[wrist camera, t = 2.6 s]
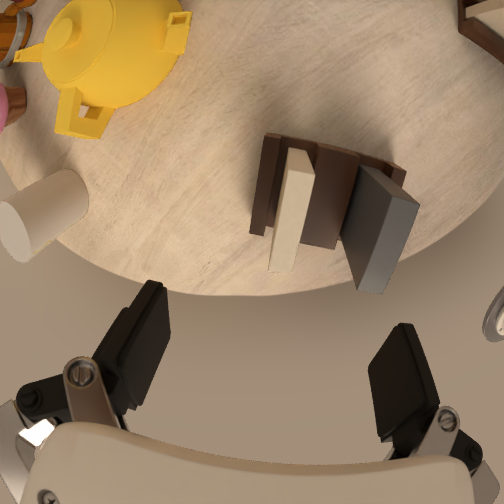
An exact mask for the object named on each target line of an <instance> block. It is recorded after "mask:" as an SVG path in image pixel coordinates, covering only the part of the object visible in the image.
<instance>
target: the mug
mask: <svg viewBox="0 0 504 504" xmlns="http://www.w3.org/2000/svg"><path fill="white" fill-rule="evenodd" d="M11 1H14V3H13V4H11V5H10V6H8V7H7V9H6V10H5V11H4V13H0V69H1V68H4V67H7V66H10V65H12V64H13V63H14V62H13V61H14V56H15V52H16V51H18V50H22V49H24V47H25V45H26V43H27V40H28V38H29V36H30V32H31V26H32V17H31V15H30V14H29V13H28V12H24V10H23V8H25V7H28V6H32V5H33V4H34V3H35V2H36V1H37V0H11Z"/></svg>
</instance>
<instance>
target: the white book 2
mask: <svg viewBox="0 0 504 504" xmlns="http://www.w3.org/2000/svg"><path fill="white" fill-rule="evenodd" d="M473 18H474V19H475V20H477V21H478V22H480V23H481V24H483V25H484V26H485V27H487V28H488V29H489V30H491V31H492V32H493V33H495V34H496V35H497V36H498V37H500V38H501V39H502V40H503V41H504V0H487V1H484V2H481V3H478V4H475V5H473V6H470V7H467V8H466V19H468V20H469V19H473Z"/></svg>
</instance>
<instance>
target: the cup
mask: <svg viewBox="0 0 504 504" xmlns="http://www.w3.org/2000/svg"><path fill="white" fill-rule="evenodd" d="M88 205H89V198H88V192H87V189H86V186H85V184H84V182H83V180H82V179H81V177H80V176H79V175H78V174H77V173H76V172H74V171H73V170H70V169H62V170H60V171H58V172H56V173H54V174H51V175H49V176H47V177H45V178H43V179H41V180H39V181H37V182H35V183H33V184H31V185H29V186H28V187H26V188H24V189H22V190H20V191H18V192H17V193H15V194H13V195H12V196H10V197H8V198H6V199H5V200H3V201H1V202H0V239H1V241H2V243H3V245H4V247H5V249H6V250H7V252H8V253H9V254H10V255H11V256H12V257H13V258H14V259H15V260H16V261H18V262H20V263H27V262H28V261H29V260H30V259H31V258H33V257H34V256H35V255H36V254H37V253H38V252H40V251H41V250H42V249H43V248H44V247H46V246H47V245H48V244H49V243H51V242H52V241H53V240H54V239H56V238H57V237H58V236H59V235H61V234H62V233H63V232H65V231H66V230H67V229H68V228H70V227H71V226H72V225H74V224H75V223H76V222H78V221H79V220H81V219H82V218H83V217H84V216H85V215H86V213H87V210H88Z"/></svg>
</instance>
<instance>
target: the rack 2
mask: <svg viewBox="0 0 504 504" xmlns="http://www.w3.org/2000/svg"><path fill="white" fill-rule="evenodd" d="M484 1H487V0H458V16H459V31H458V32H459V33H461V34H462V35H464V36H466V37H467V38H469V39H470V40H472V41H473V42H475V43H476V44H478V45H479V46H480V47H482V48H483V49H485V50H486V51H487V52H489V53H490V54H491V55H493V56H494V57H495V58H497V59H498V60H499V61H500V62H502V63H503V64H504V41H503V40H502V39H501V38H500V37H498V36H497V35H496V34H495V33H493V32H492V31H491V30H489V29H488V28H487V27H485V26H484V25H483V24H481V23H480V22H478V21H477V20H475V19H474V18H473V19H469V20H468V19H466V8H467V7H470V6H473V5H475V4H478V3H481V2H484Z"/></svg>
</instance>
